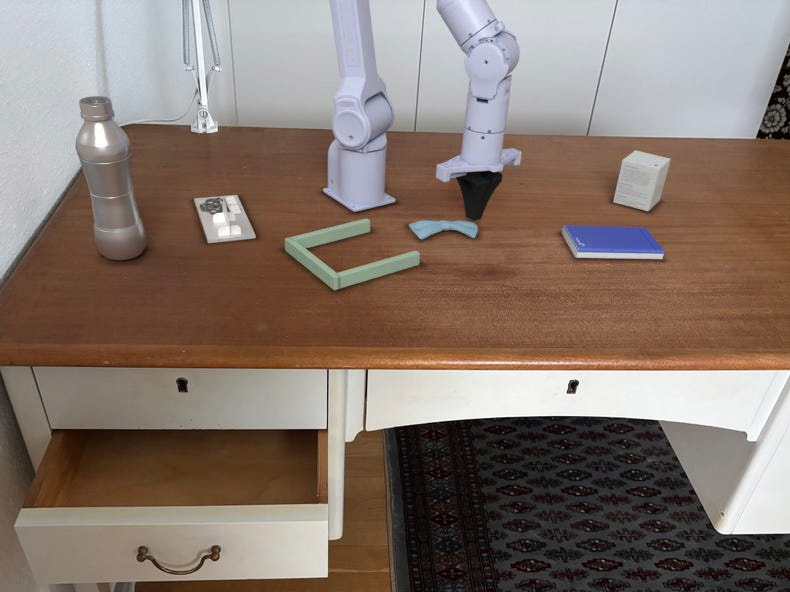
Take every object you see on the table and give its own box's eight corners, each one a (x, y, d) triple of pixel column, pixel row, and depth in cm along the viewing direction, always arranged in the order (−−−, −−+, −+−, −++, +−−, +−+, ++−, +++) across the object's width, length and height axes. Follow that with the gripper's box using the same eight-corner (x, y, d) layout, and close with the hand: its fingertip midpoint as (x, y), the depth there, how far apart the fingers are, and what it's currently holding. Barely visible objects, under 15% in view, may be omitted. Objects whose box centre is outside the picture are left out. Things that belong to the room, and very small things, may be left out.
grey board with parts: (255, 238, 101) (253, 208, 99) (208, 243, 99) (204, 212, 97) (237, 197, 113) (235, 169, 110) (194, 201, 111) (191, 173, 108)
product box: (660, 201, 119) (672, 158, 114) (647, 213, 115) (660, 168, 110) (624, 191, 122) (635, 149, 117) (611, 202, 117) (621, 158, 113)
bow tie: (414, 230, 102) (407, 215, 106) (413, 240, 103) (407, 225, 107) (483, 228, 103) (474, 214, 107) (482, 238, 104) (472, 224, 108)
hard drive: (578, 249, 99) (665, 250, 100) (563, 223, 106) (644, 225, 107) (576, 259, 100) (662, 260, 101) (561, 233, 107) (642, 235, 108)
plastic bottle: (102, 270, 92) (70, 111, 80) (93, 248, 97) (61, 95, 85) (154, 261, 94) (129, 105, 83) (142, 240, 99) (117, 90, 88)
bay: (284, 250, 98) (284, 238, 97) (366, 229, 105) (366, 218, 104) (334, 290, 90) (334, 277, 89) (419, 265, 97) (420, 252, 96)
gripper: (463, 143, 94) (452, 238, 101) (542, 127, 101) (526, 217, 109) (430, 128, 98) (422, 220, 106) (507, 114, 105) (495, 201, 113)
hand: (473, 217), depth 108 cm, fingers closed
